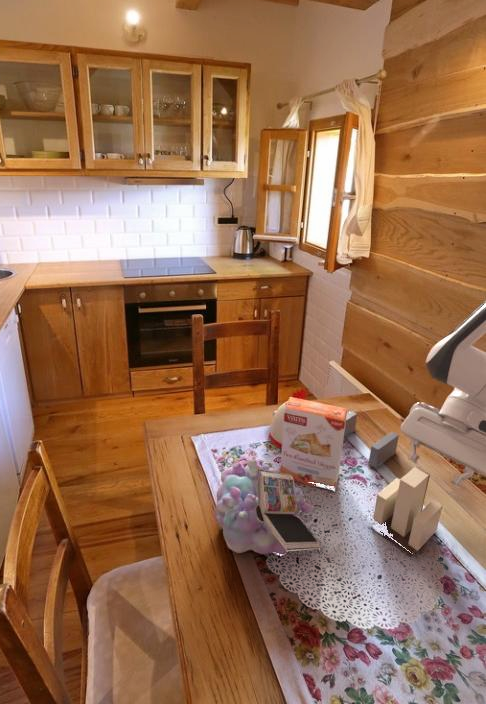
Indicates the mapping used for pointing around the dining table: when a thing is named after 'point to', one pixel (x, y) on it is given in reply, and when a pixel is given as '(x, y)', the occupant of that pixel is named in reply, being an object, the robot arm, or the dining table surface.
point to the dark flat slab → (399, 538)
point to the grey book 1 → (350, 423)
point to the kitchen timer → (281, 420)
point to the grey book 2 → (383, 449)
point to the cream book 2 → (425, 524)
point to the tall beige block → (409, 500)
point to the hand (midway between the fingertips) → (432, 472)
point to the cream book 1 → (386, 502)
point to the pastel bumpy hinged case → (262, 510)
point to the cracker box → (312, 441)
